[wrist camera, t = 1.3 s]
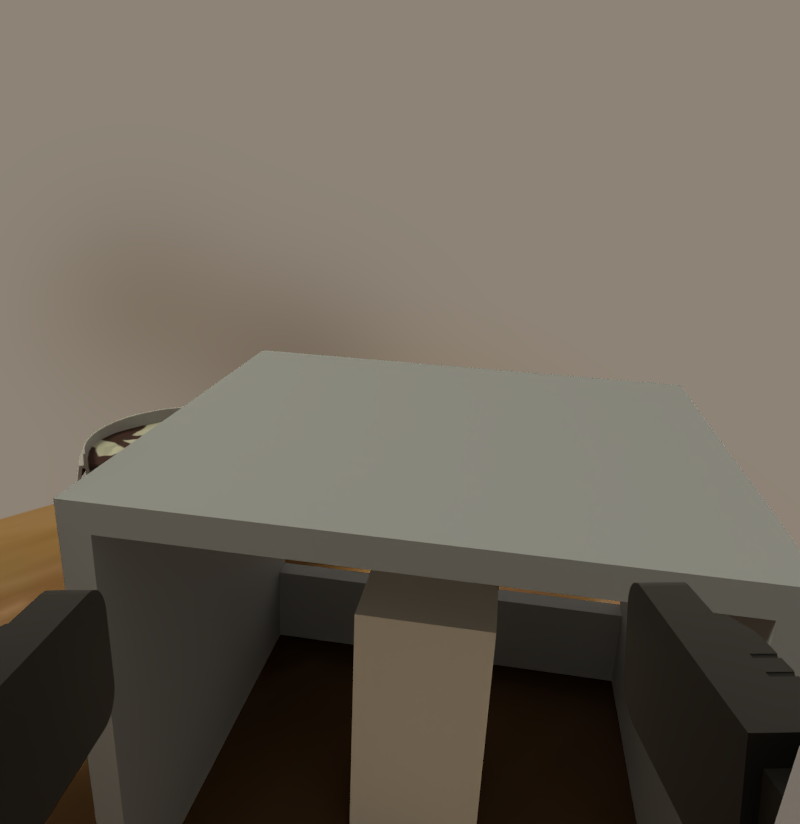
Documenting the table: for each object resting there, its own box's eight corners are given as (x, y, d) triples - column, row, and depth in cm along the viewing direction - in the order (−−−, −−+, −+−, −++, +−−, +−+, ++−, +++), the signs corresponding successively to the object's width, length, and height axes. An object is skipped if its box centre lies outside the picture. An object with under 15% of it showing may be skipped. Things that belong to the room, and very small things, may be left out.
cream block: (349, 825, 28) (354, 614, 25) (373, 732, 33) (380, 544, 30) (474, 847, 28) (496, 633, 24) (480, 749, 32) (500, 558, 29)
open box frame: (107, 911, 25) (53, 498, 20) (269, 621, 41) (263, 350, 35) (705, 1032, 22) (830, 590, 17) (628, 671, 38) (680, 385, 33)
